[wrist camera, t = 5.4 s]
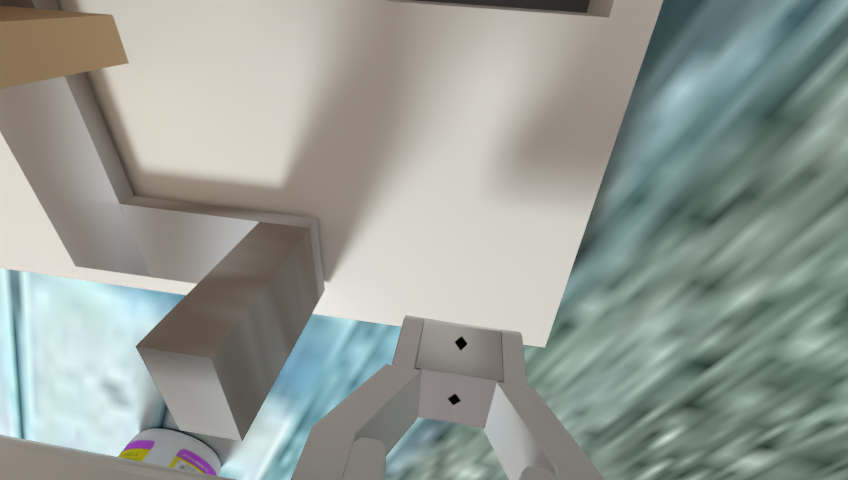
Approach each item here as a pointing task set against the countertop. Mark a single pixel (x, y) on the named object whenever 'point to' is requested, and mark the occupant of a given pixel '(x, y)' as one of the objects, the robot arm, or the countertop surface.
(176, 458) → the supplement bottle
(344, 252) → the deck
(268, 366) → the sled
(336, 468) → the robot arm
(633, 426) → the countertop surface
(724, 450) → the countertop surface
